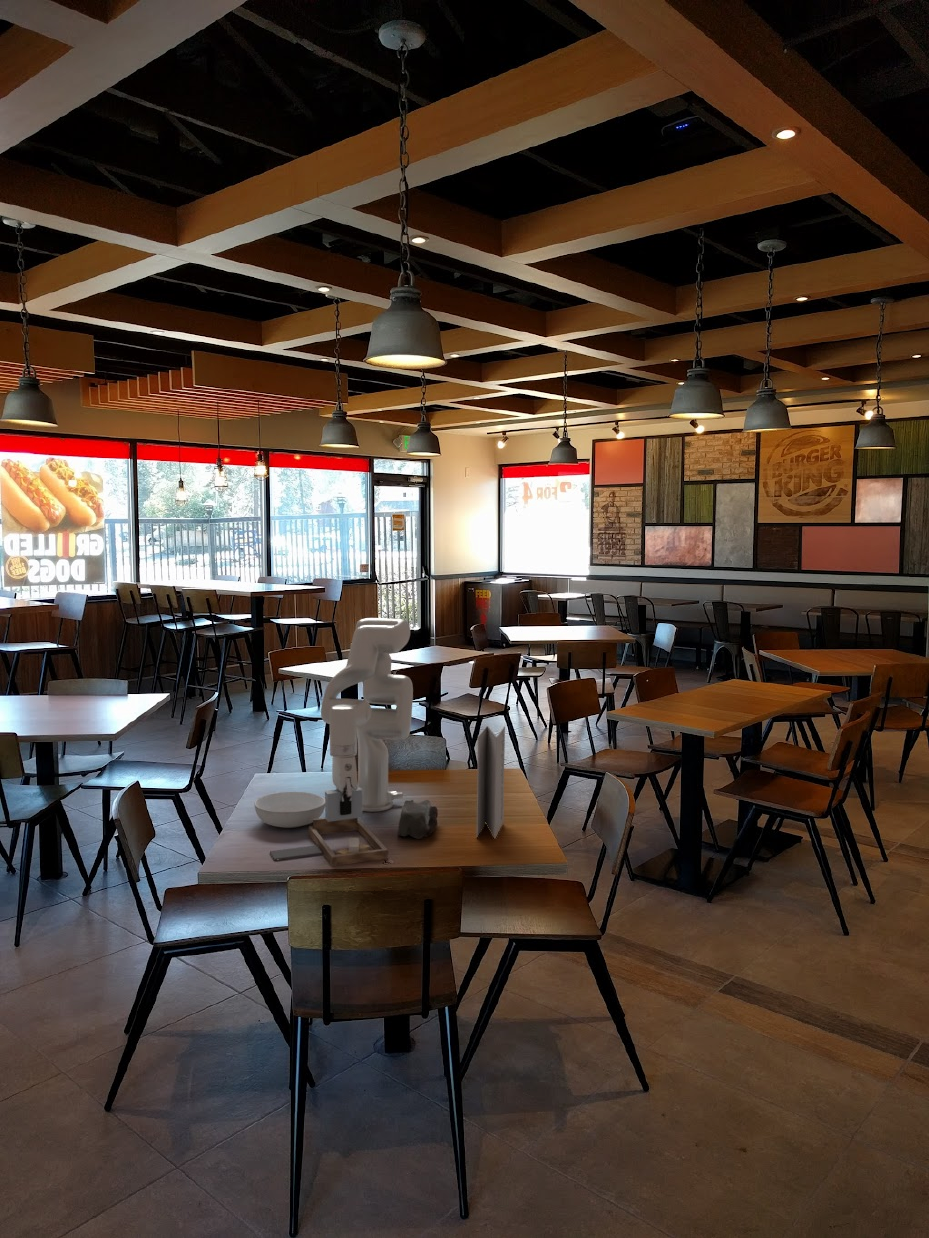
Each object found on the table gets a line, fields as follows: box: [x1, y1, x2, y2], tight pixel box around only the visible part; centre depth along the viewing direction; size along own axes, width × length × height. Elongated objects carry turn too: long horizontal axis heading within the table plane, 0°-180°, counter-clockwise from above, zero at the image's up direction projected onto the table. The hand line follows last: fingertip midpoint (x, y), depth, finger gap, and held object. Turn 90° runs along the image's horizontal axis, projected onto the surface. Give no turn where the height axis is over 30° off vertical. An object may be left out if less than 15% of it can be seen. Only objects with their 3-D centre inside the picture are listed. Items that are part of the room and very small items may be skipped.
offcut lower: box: [336, 843, 371, 855], centre depth 246 cm, size 9×3×2 cm, turn 134°
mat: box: [269, 844, 323, 861], centre depth 246 cm, size 13×6×1 cm, turn 113°
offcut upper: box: [348, 837, 360, 853], centre depth 246 cm, size 7×3×2 cm, turn 5°
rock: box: [397, 799, 439, 840], centre depth 265 cm, size 18×11×8 cm, turn 179°
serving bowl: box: [254, 791, 325, 829], centre depth 271 cm, size 21×21×7 cm
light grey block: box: [324, 786, 363, 822], centre depth 256 cm, size 10×3×8 cm, turn 113°
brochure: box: [475, 725, 506, 839], centre depth 265 cm, size 14×6×30 cm, turn 168°
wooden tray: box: [308, 817, 389, 867], centre depth 253 cm, size 15×26×4 cm, turn 23°
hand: (343, 811), depth 256 cm, fingers closed on light grey block, 3 cm apart
